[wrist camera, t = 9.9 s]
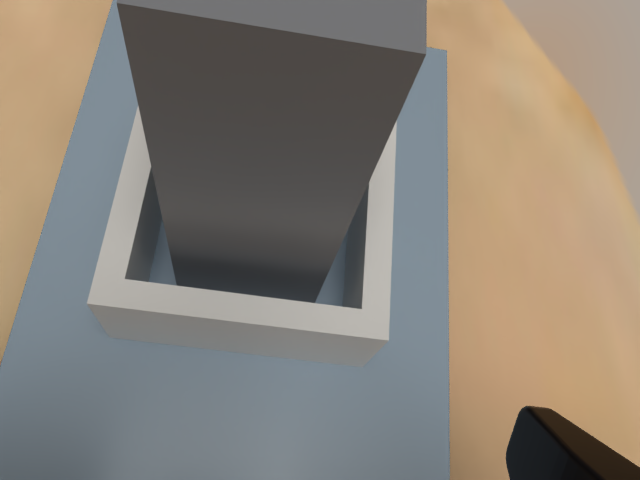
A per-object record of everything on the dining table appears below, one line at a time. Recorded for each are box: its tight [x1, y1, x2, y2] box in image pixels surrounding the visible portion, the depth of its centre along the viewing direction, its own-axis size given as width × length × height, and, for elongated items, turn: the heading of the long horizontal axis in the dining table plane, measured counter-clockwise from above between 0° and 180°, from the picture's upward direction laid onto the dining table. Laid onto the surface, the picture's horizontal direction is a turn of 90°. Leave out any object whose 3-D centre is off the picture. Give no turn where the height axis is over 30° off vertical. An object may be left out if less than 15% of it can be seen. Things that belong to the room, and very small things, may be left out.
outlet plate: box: [0, 0, 450, 480], centre depth 20 cm, size 20×14×4 cm
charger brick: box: [116, 0, 427, 303], centre depth 15 cm, size 4×4×12 cm
